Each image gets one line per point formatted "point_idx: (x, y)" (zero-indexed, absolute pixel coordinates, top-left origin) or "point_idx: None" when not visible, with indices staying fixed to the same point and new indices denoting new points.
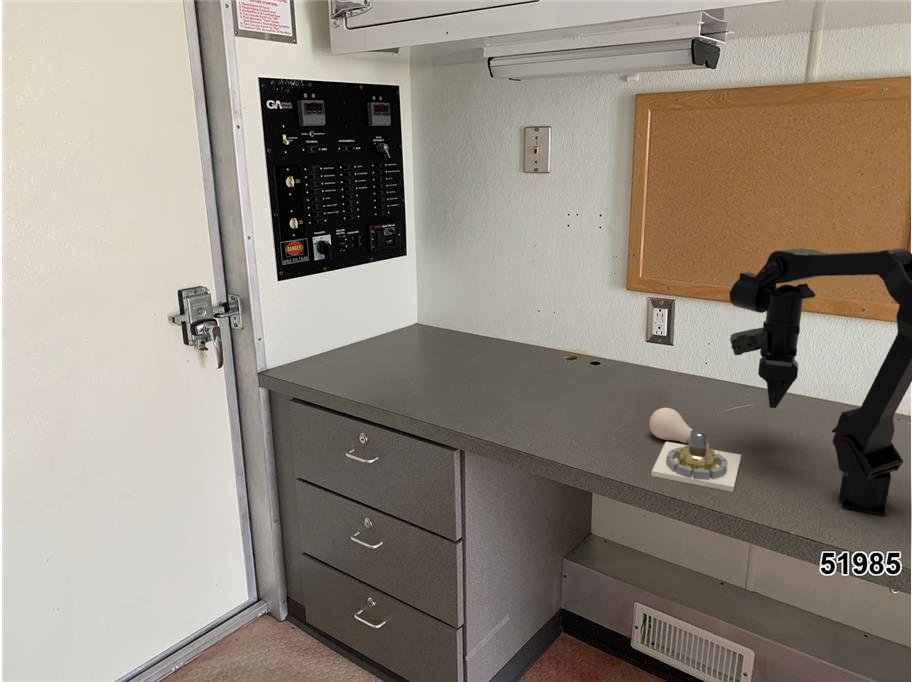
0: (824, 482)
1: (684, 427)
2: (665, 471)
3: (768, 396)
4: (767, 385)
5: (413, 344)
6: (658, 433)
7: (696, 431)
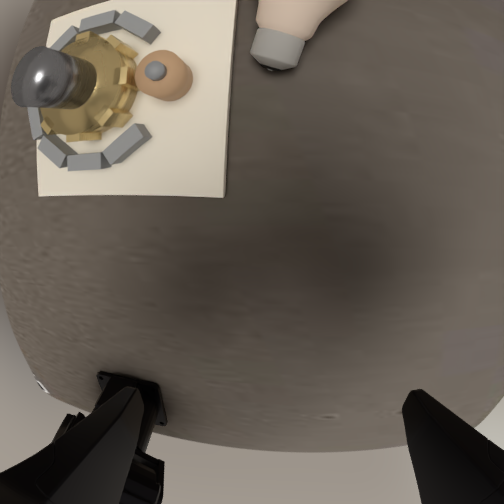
0: (183, 367)
1: (277, 3)
2: (54, 42)
3: (78, 424)
4: (15, 466)
5: None
6: None
7: (37, 62)
